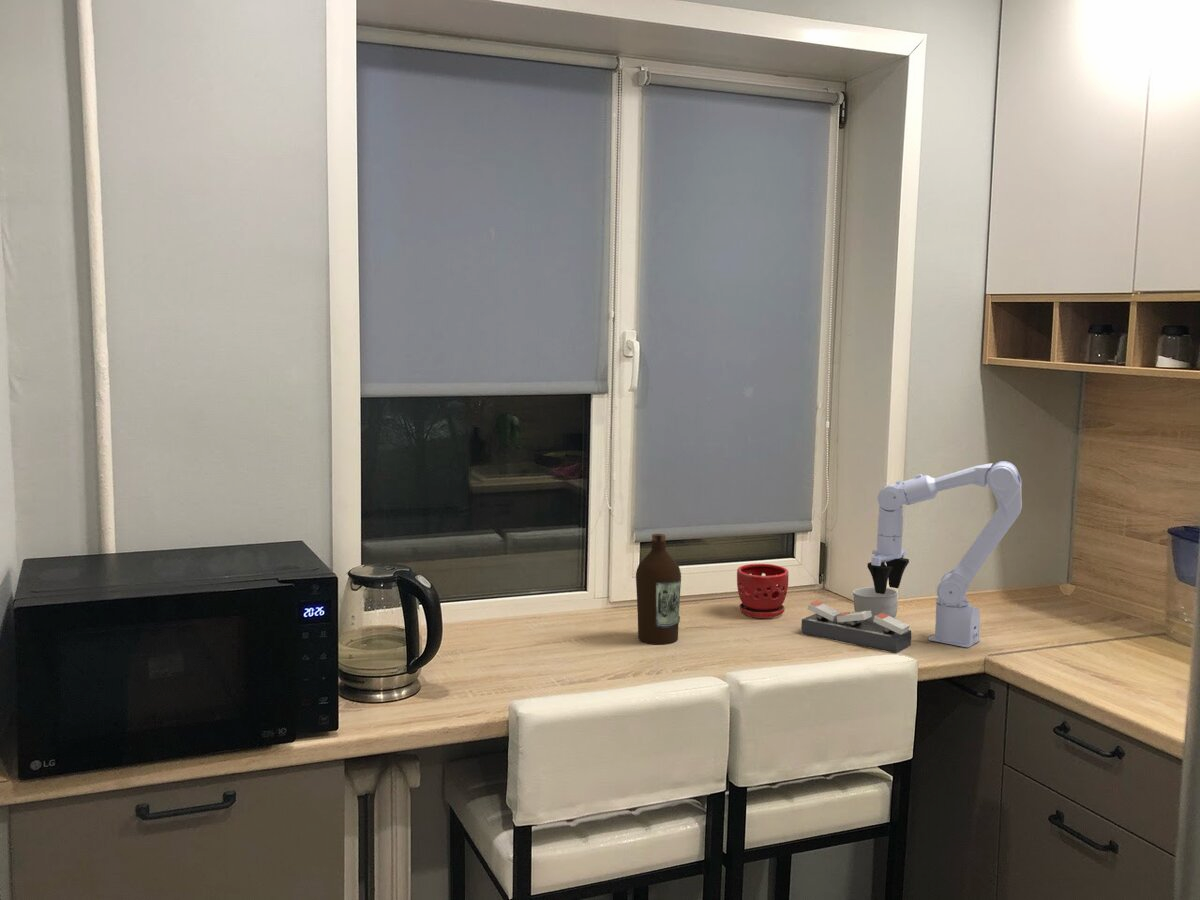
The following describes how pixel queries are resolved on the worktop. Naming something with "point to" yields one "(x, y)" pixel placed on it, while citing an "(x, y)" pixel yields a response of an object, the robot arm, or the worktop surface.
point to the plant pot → (762, 589)
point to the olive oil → (658, 595)
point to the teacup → (875, 602)
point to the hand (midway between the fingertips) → (887, 590)
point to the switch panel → (856, 633)
